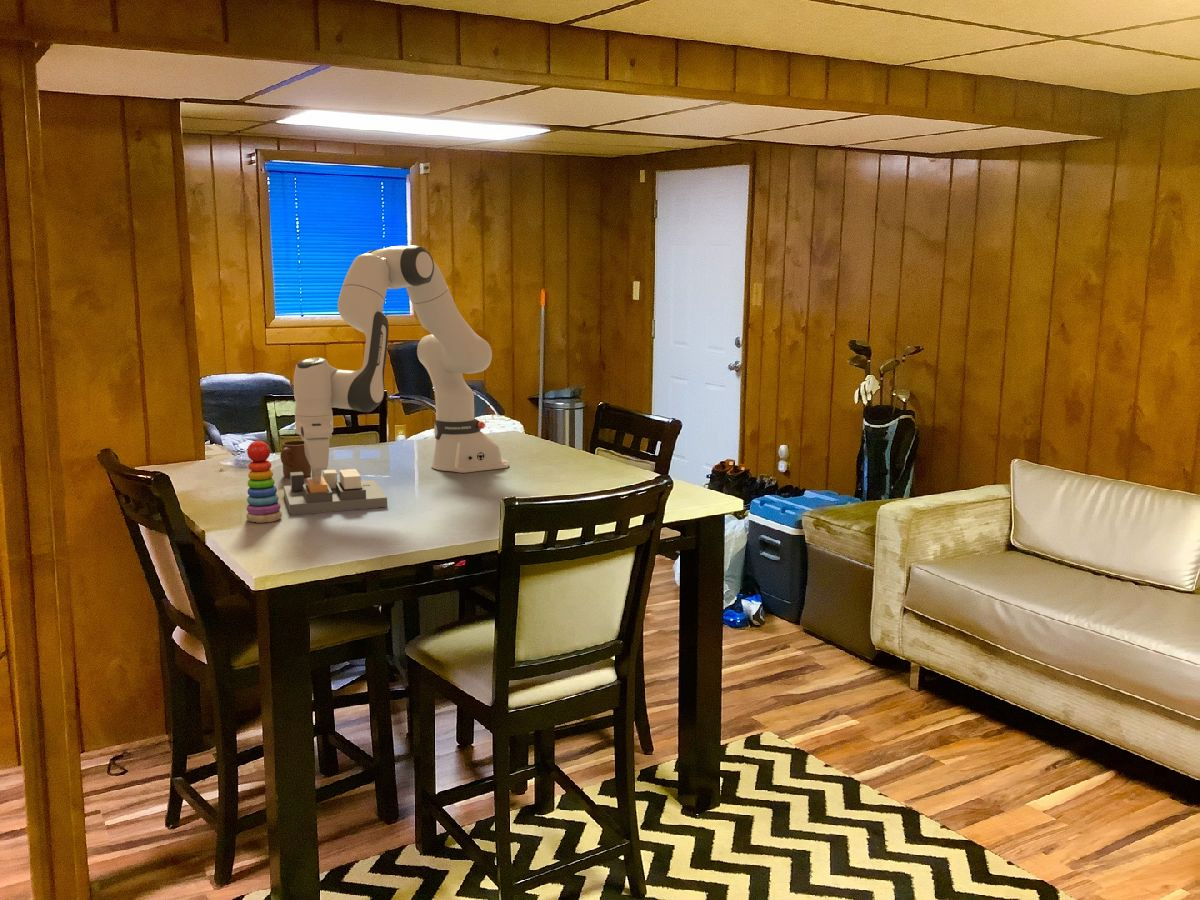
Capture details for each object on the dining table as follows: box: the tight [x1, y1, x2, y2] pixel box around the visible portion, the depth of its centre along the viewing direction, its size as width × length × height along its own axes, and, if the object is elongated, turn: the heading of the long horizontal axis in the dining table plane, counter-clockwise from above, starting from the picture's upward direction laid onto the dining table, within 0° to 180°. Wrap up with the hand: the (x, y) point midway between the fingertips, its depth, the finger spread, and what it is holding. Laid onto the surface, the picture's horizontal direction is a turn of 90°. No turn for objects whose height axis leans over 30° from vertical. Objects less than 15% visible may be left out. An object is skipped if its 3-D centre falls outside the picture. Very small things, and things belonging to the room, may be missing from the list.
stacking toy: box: [245, 440, 283, 524], centre depth 236 cm, size 8×8×19 cm
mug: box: [279, 440, 312, 479], centre depth 281 cm, size 12×8×9 cm, turn 170°
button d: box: [339, 468, 362, 489], centre depth 251 cm, size 4×9×3 cm, turn 21°
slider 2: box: [322, 469, 338, 489], centre depth 259 cm, size 3×4×4 cm
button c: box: [306, 476, 328, 493], centre depth 249 cm, size 4×9×3 cm, turn 21°
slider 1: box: [289, 472, 305, 491], centre depth 256 cm, size 3×4×4 cm
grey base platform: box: [283, 479, 388, 516], centre depth 255 cm, size 23×21×5 cm
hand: (316, 481), depth 249 cm, fingers closed, pressing on button c
